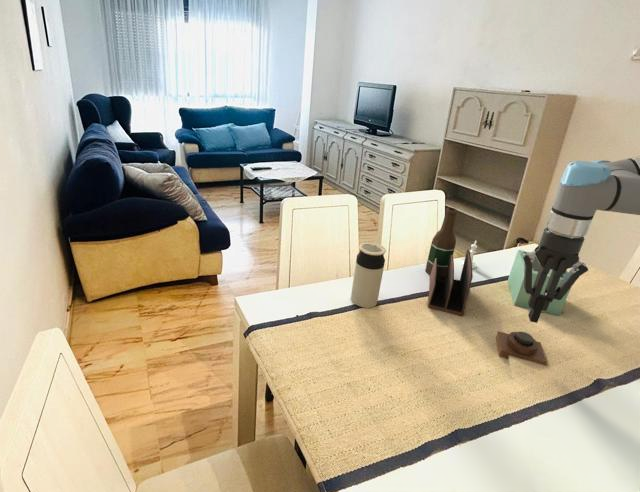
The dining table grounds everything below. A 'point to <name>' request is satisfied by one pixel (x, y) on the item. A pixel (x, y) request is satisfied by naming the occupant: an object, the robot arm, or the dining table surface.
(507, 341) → the button block
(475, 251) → the chess piece
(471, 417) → the dining table surface
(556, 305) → the toaster
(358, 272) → the travel mug
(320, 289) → the dining table surface
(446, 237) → the beer bottle
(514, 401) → the dining table surface
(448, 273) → the letter holder
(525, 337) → the button
